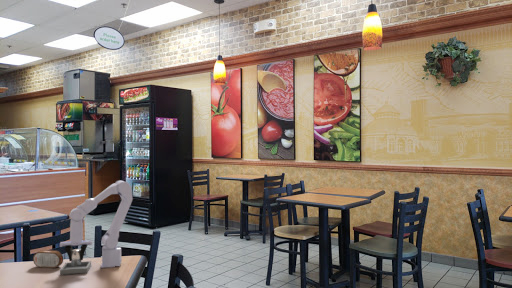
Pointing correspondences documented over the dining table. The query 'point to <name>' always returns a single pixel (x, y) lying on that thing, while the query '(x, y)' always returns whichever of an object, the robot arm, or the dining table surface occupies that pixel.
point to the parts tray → (75, 268)
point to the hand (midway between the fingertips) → (76, 260)
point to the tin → (48, 259)
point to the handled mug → (76, 257)
